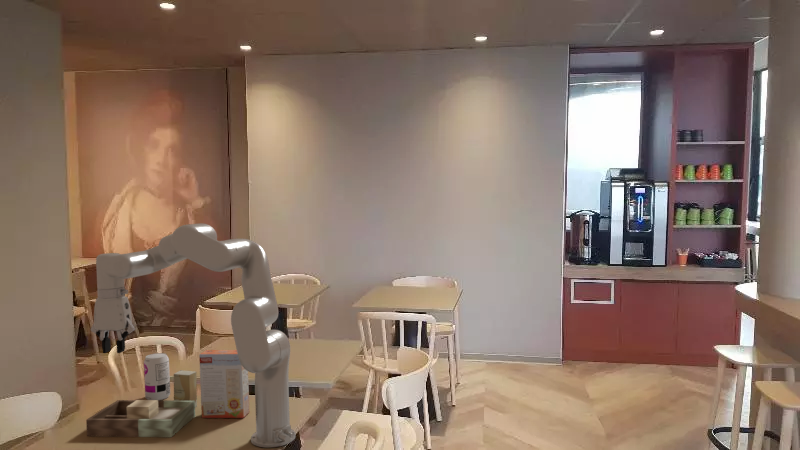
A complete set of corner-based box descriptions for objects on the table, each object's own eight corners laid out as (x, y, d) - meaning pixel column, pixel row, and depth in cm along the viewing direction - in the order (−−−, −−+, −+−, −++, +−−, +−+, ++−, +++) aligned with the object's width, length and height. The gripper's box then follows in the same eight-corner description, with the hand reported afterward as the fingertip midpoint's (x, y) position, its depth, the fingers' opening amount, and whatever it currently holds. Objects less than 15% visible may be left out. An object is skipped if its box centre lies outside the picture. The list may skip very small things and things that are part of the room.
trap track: (195, 415, 193) (194, 400, 192) (171, 437, 176) (170, 420, 176) (118, 415, 195) (117, 400, 195) (87, 436, 178) (86, 419, 178)
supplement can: (143, 402, 206) (142, 359, 206) (147, 395, 214) (145, 353, 214) (168, 400, 209) (167, 357, 208) (171, 392, 217) (169, 351, 216)
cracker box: (250, 412, 195) (248, 349, 194) (243, 419, 189) (241, 353, 188) (208, 411, 197) (206, 348, 195) (201, 418, 191) (198, 353, 189)
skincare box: (173, 409, 199) (172, 373, 198) (181, 405, 203) (179, 369, 202) (190, 411, 197) (189, 374, 197) (198, 406, 201) (196, 370, 201)
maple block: (158, 412, 188) (158, 400, 188) (149, 419, 182) (148, 406, 182) (137, 412, 188) (136, 400, 188) (127, 419, 182) (126, 406, 182)
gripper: (143, 291, 187) (145, 349, 188) (92, 291, 188) (95, 349, 189) (130, 295, 179) (133, 355, 180) (77, 295, 181) (80, 355, 182)
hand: (113, 351), depth 185 cm, fingers open, 3 cm apart
